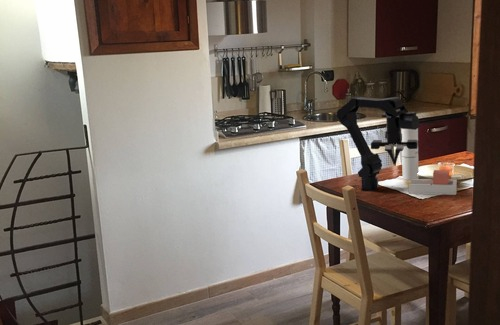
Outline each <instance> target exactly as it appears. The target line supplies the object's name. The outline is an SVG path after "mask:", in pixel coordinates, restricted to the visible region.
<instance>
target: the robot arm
mask: <svg viewBox="0 0 500 325" xmlns="http://www.w3.org/2000/svg"><path fill="white" fill-rule="evenodd" d="M360 108H371V109H378V110H380V111H382V112H384V113H383V114H382V115H381V118H386V131H385V132H384V133H385V135H384V139H386V141H382V139H373V140H372V142H370V147H369V144H368V142H367V141H366V138H365V136H364V134H363V133H362V131H361V128H360V126H359V125H358V115H357V112H358V111H359V110H360ZM335 116H336V118H337V120H338V121H339V124H341V125H342V126H343V127H345V128H346V129H347V131H348V134H349V136H350V137H351V139H352V142H353V143H354V146H355V147H356V149H357V151H358V153H359V155H360V164H361V169H360V170H358V172H357V175H358V177H359V178H361V188H360V191H371V192H372V191H376V190H378V188H379V177H378V176H377V175H378V174H380V171H381V170H382V167H383V163H382V162H383V160H382V159H381V157H380V155H379V154H378V153H374V152H372V150H379V149H380V148H383V147H384V151H385V152H387V154H388V155H389V157H390V159H391V162H392V164H393V165H395V166H396V165H397V161H398V158H399V155H400V152H402V151H403V149H404V146H407V148H409V149H417V148H418V149H419V140H418V141H417V140H408V141H407V142H402V129H412V130H416V129H417V128H418V129H419V127H420V126H419V125H420V119H419V117H418V115H417V112H409V110H408V109H407V108H406V106H405V105H404V103H403V101H402V99H401V97H399V96H394V97H387V98H375V97H363V96H354V97H352V98H351V99H350V100H349V101H347V103H345V104H344V105H343V106H342V107H341V108H339V109H337V111H336V114H335ZM394 147H395V148H394ZM394 149H395V150H394Z"/></svg>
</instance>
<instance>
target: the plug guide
mask: <svg viewBox="0 0 500 325" xmlns="http://www.w3.org/2000/svg"><path fill="white" fill-rule="evenodd" d="M457 184H458V182H457V179H449V185H441V184H433V178H418V179H411V180H410V183H408V194H412V195H413V194H416V195H417V194H418V195H445V196H446V195H447V196H449V195H451V196H455V195H457V187H458V186H457Z"/></svg>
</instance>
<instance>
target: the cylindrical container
mask: <svg viewBox="0 0 500 325" xmlns="http://www.w3.org/2000/svg"><path fill="white" fill-rule="evenodd" d="M401 133H402V141H401V142H407V141H408V140H417V141H418V142H419V127H418V128H417V129H416V130H412V129H402V128H401ZM401 159H402V160H401V163H402V165H401V166H402V167H401V168H402V170H401V171H402V180H404V181H411V179H420V178H419V177H420V176H417V173H418V172H419V147H418V148H417V149H409V148H407V146H404V149H403V151H401Z"/></svg>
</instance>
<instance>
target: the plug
mask: <svg viewBox="0 0 500 325" xmlns="http://www.w3.org/2000/svg"><path fill="white" fill-rule="evenodd" d="M432 179H433V184H441V185H449V180H450V170H449V169H433V173H432Z"/></svg>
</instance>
